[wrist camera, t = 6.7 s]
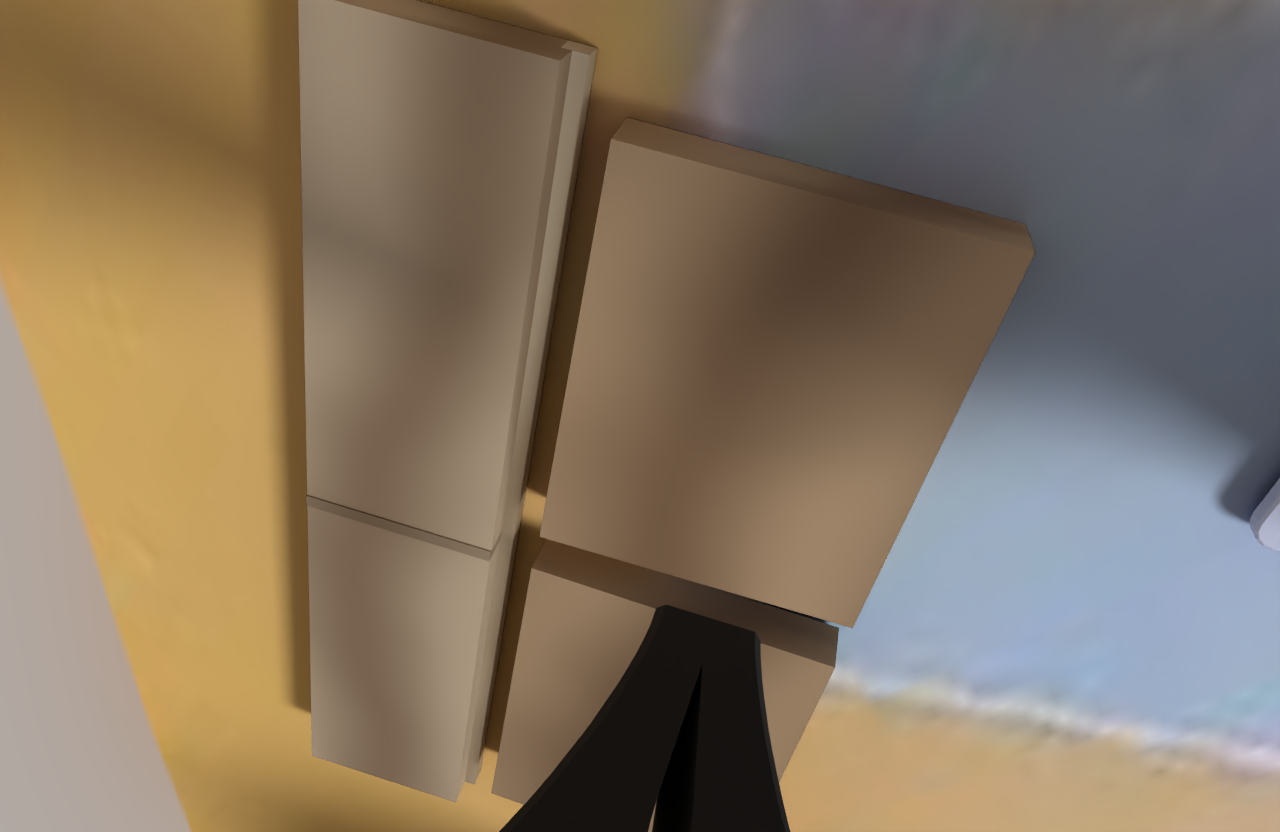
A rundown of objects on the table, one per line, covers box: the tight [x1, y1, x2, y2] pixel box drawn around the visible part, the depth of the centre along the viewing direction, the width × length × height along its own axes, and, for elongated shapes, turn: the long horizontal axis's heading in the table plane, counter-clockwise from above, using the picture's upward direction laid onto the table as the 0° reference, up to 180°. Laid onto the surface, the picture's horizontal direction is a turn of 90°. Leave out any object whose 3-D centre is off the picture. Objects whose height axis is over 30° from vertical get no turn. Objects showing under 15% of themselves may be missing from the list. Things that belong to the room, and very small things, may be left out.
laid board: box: [298, 0, 597, 802], centre depth 22 cm, size 5×21×1 cm, turn 169°
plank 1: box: [539, 118, 1035, 628], centre depth 18 cm, size 7×9×1 cm
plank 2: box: [492, 539, 839, 832], centre depth 24 cm, size 7×9×1 cm
